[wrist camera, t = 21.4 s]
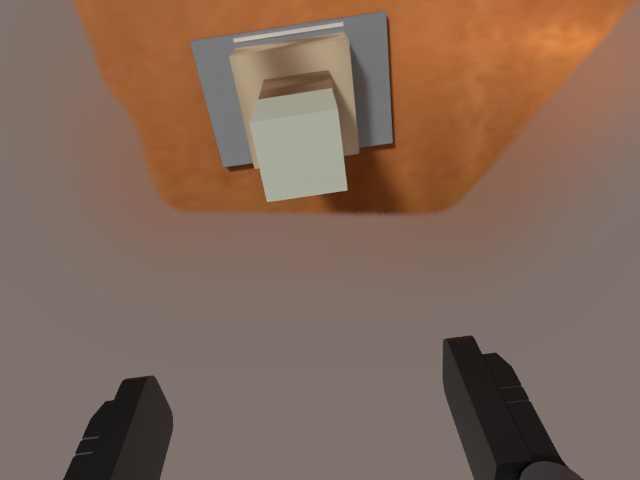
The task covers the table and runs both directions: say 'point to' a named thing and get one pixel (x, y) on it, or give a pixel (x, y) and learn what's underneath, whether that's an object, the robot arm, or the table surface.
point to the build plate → (360, 29)
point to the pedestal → (294, 60)
